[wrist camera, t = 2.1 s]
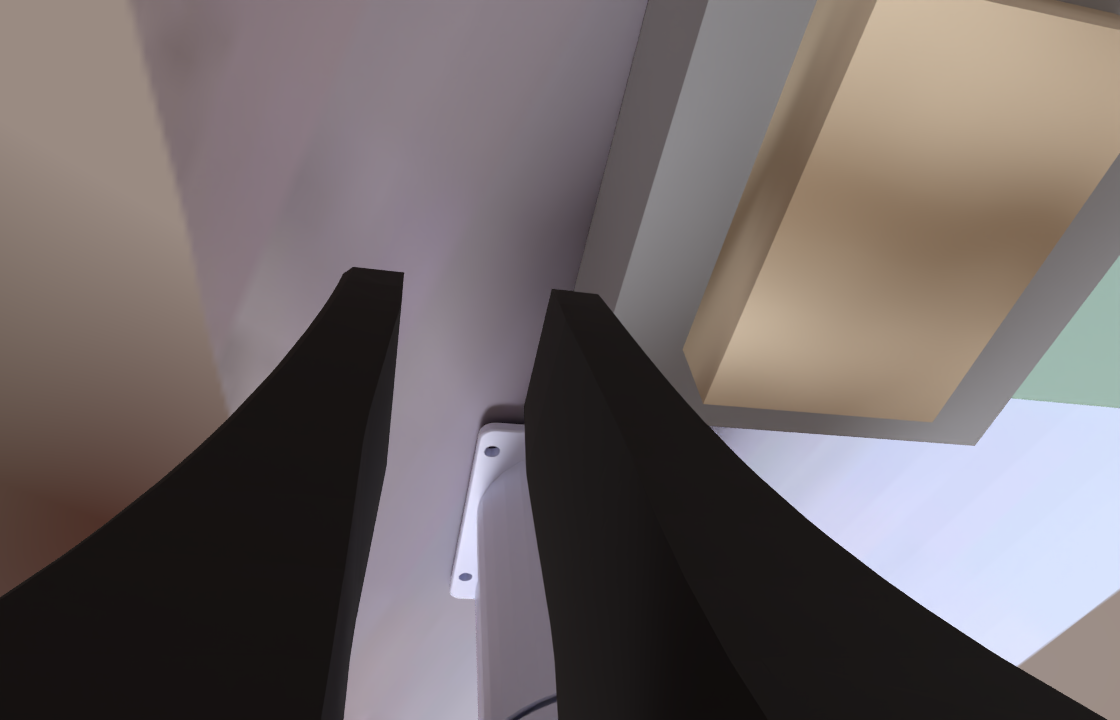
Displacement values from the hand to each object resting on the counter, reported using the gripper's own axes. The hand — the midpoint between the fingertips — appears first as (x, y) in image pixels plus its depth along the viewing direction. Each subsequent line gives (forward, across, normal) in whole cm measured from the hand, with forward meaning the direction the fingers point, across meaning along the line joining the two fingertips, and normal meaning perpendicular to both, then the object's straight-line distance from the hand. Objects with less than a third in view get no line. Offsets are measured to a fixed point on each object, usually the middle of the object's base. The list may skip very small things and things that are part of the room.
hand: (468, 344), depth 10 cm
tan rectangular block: (+6, -9, 0) cm, 11 cm away
